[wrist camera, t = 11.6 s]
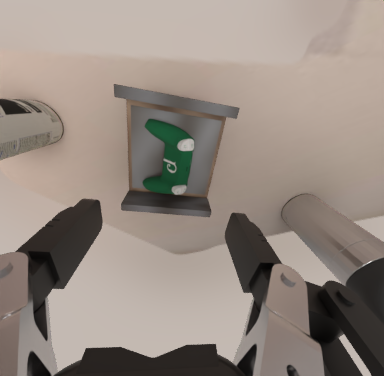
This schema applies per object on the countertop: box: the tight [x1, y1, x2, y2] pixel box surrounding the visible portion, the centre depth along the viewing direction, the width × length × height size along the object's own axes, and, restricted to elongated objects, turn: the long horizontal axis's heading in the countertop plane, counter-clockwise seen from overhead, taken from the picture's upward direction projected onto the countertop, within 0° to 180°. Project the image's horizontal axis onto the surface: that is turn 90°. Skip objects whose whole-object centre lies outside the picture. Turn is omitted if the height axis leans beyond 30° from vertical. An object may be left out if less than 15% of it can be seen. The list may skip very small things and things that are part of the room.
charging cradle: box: [114, 84, 239, 217], centre depth 23 cm, size 12×14×12 cm
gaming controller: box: [142, 119, 195, 195], centre depth 19 cm, size 9×4×6 cm
